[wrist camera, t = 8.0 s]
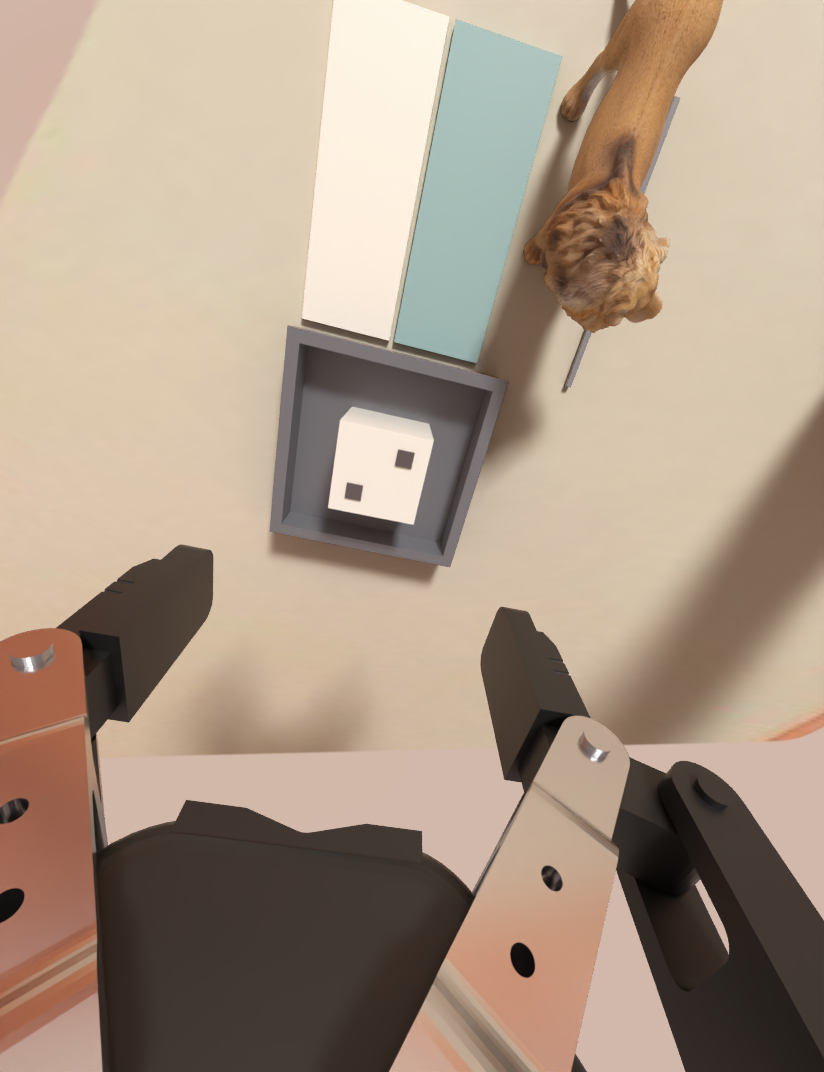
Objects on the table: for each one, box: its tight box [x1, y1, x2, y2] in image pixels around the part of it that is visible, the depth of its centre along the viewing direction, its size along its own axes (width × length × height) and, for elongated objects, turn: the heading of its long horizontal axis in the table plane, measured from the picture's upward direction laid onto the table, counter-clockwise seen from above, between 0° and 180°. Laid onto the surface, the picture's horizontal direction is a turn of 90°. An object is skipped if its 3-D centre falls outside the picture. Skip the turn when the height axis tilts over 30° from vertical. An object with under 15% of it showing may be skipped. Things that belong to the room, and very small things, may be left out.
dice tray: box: [270, 326, 508, 567], centre depth 26 cm, size 12×12×3 cm
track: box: [302, 0, 680, 387], centre depth 21 cm, size 17×14×1 cm
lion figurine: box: [524, 0, 723, 333], centre depth 17 cm, size 15×5×9 cm, turn 175°
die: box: [328, 407, 434, 525], centre depth 24 cm, size 5×5×5 cm
